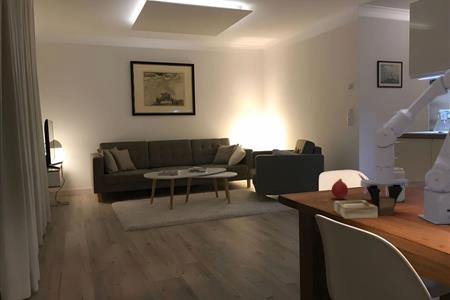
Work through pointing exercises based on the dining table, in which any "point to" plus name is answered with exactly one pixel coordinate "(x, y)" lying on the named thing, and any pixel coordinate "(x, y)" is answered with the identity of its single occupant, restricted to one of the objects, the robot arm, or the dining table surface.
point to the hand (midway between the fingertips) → (383, 208)
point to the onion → (339, 189)
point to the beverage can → (400, 174)
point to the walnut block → (386, 205)
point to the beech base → (356, 209)
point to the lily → (365, 187)
